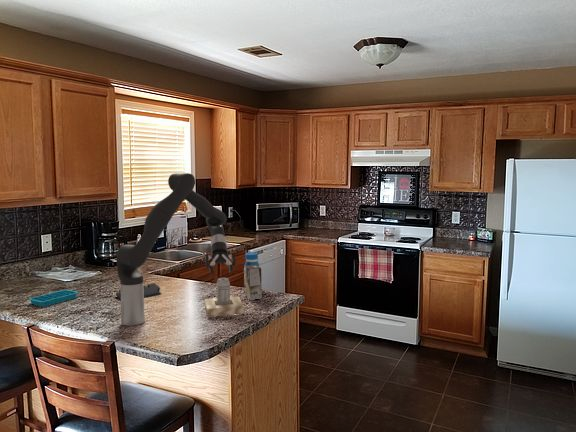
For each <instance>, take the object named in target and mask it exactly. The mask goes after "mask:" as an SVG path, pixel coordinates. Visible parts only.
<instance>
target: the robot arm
mask: <svg viewBox="0 0 576 432" xmlns="http://www.w3.org/2000/svg"><path fill="white" fill-rule="evenodd" d="M167 184H168V186H169V188H170V190H171V193H169V195H167V196H166V197H164V198H162V199H161V200H160V201H159V202H157V203H156V204H155V205H154V206H153V207H152V208H151V210H150V211H149V213H148V214H147V216H146V217H145V222H144V228H143V233H142V235H141V237H140V238H139V240H138V241H137V242H136V244H135V245H134V244H124V245H121V246H119V248H118V249H117V253H116V270H117V277H118V279H119V283H120V284H119V285H120V292H121V299H120V303H119V305H120V322H121V323H120V325H121V326H128V327H129V326H130V327H131V326H138V325H141V324H144V323H145V320H146V318H145V317H146V316H145V315H146V314H145V298H144V286H145V285H144V276H143V274H141V273H140V271H139V270H138V268H140V267H142V266H143V265H144V264H145V262H147V259H148V257H149V255H150V254H151V251H152V250H153V248H154V246H155V244H156V242H157V241H158V239H159V238H160V236H161V234H162V233H163V232H164V230H165V229H166V227H167V226H168V224H169V223H170V221H171V219H172V218H173V216H174V215H175V213H176V212H177V210H178V209H179V207H180V206H181V205H182V204H183V202H184V201H187V202H188V204H190V205H192V207H194V209H195V210H196V211H198V213H199V214H200V215H201V216H202V217H204V218H205V223H206V225H207V227H208V230H209V233H210V248H211V255H209V254H205V267H206V268H209V273H210V274H211V275H214V266H215V265H216V264H217V265H219V264H221V265H222V264H225V265H227V266H228V271H229V274H230V275H231V274H232V273H233V270H234V269H233V267H235V266H236V264H237V263H236V262H237V261H236V257H235V253H231V254H229V253H228V247H227V245H228V244H227V239H226V233H225V229H224V227H222V225H224V224H226V222H227V220H228V219H227V215H226V214H225V212H223V211H222V210H220V209H219V208H217V207H215V206H213V205H212V204H211V202H210V201H209V200H208V199H207V198H205V197H204V196H203V195H201V194H199V193H197V192H196V191H194V188H195V185H196V179H195V176H194V175H193V174H192V173H189V172H174V173H172V174H170V175H169V176H168V180H167ZM210 260H212V261H211V262H210V263H209V261H210Z"/></svg>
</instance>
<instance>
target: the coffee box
mask: <svg viewBox="0 0 576 432" xmlns="http://www.w3.org/2000/svg"><path fill="white" fill-rule="evenodd" d="M244 269H245V283H246V290H245V297H246V296H247V297H248V298H249V299H250V300H251V301H255V300H254V299H260V300H262V299H261V298H263V297H262V295H263V294H262V293H263V292H262V267H261V266H260V265H259V266H257V265H249V266H245V267H244ZM245 283H244V284H245ZM247 297H246V298H247ZM248 298H247V299H248ZM249 299H248V300H249ZM250 300H249V301H250Z"/></svg>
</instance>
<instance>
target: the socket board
mask: <svg viewBox="0 0 576 432" xmlns="http://www.w3.org/2000/svg"><path fill="white" fill-rule="evenodd" d="M244 308H245V306H244V304H243V302H242V300H241V298H240V297H239V296H230V305H217V297H216V298H215V297H213V298H205V299H204V309H205V314H206V313H207V314H206V317H211V318H215V317H214V316H224V317H226V316H225V315H234V314H243V313H244V312H245V309H244ZM244 314H245V313H244Z"/></svg>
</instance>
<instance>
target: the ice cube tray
mask: <svg viewBox="0 0 576 432" xmlns="http://www.w3.org/2000/svg"><path fill="white" fill-rule="evenodd" d="M78 294H80V293H79V291H74V290H71V289H70V290H69V289H61V290H58V291H54V292H50V293H46V294H43V295H42V294H41V295H39V296H37V295H36V296H33V297H30V298H28V300H29V301H30V304H31V305H32V304H34V305H33V306H37V305H38V306H37V307H41V306H44V307H49V306H53V305H54V304H55V303H56V304H59V303H63V302H67V301H70V300H74V299H76V298H77V295H78ZM66 300H67V301H66ZM56 304H55V305H56Z"/></svg>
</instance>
